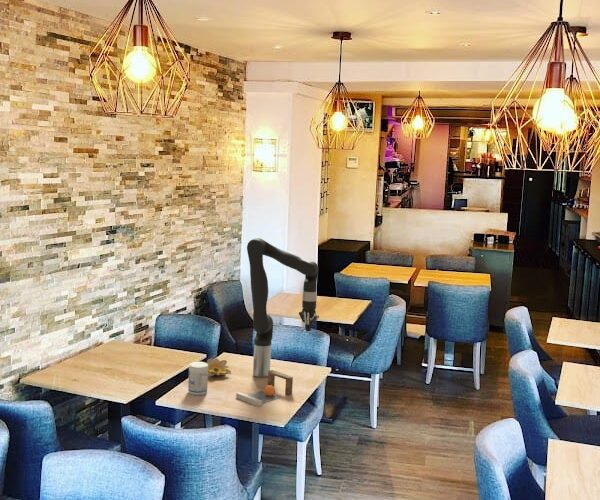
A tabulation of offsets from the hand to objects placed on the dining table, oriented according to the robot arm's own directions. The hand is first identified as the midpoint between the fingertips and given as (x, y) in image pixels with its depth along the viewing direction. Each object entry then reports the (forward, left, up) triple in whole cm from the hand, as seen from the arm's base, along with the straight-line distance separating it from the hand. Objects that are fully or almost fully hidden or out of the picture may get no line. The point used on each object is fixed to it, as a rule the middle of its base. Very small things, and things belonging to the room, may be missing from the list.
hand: (308, 330), depth 372 cm
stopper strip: (-30, -35, -27) cm, 54 cm away
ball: (-20, -27, -24) cm, 41 cm away
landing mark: (-24, -29, -27) cm, 46 cm away
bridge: (-15, -20, -27) cm, 36 cm away
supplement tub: (-56, -24, -27) cm, 67 cm away
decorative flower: (-49, +2, -27) cm, 56 cm away
